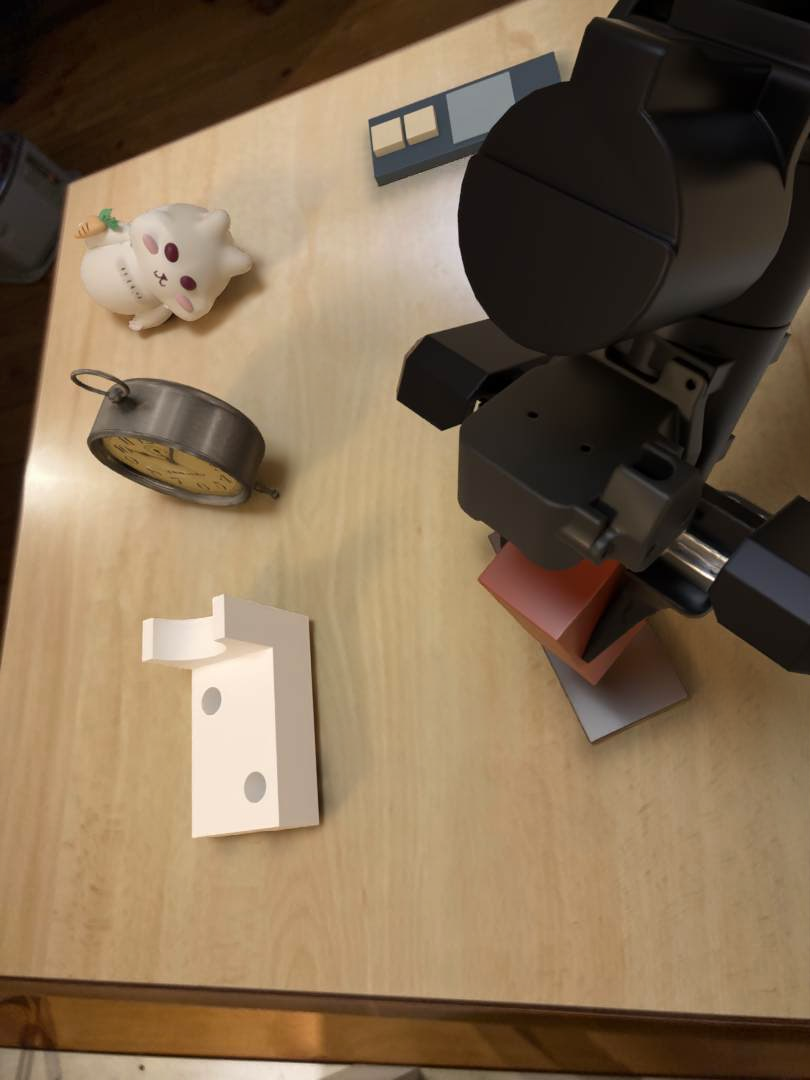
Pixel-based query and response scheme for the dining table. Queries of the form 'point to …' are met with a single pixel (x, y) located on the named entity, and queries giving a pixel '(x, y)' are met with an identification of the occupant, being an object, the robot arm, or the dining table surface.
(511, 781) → the dining table surface
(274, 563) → the dining table surface
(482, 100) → the board
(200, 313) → the cat figurine
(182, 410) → the alarm clock
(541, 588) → the terracotta brick
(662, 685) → the board
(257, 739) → the bracket
